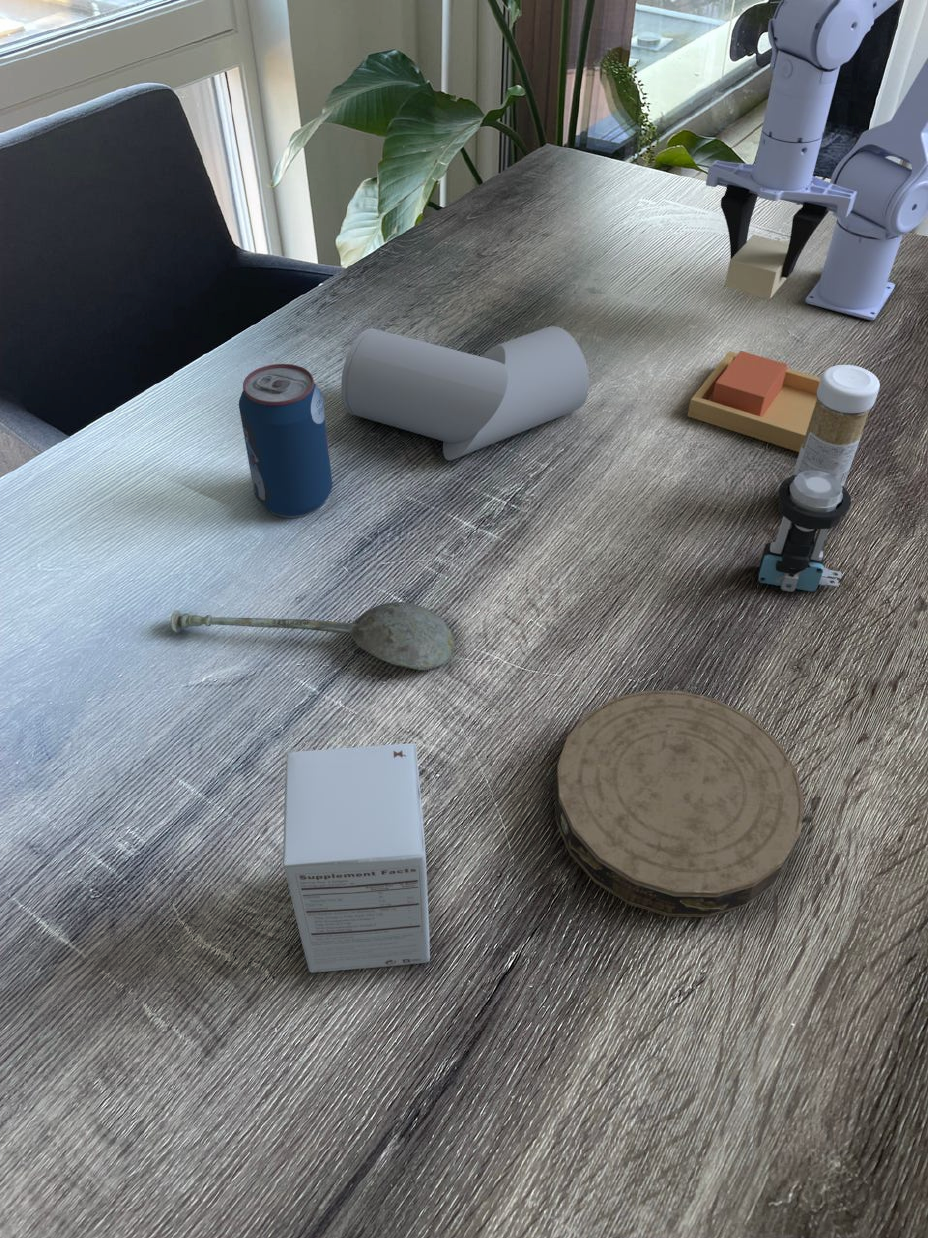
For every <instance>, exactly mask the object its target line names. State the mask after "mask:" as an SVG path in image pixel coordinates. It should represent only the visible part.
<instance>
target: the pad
mask: <svg viewBox="0 0 928 1238" xmlns="http://www.w3.org/2000/svg"><path fill="white" fill-rule="evenodd" d="M788 247H789V243H788V242H784V241H780V240H776V239H772V238H769V237H765V236H760V235H756V234H752V235H751V237H750V238H749V239H747V242H746V243H745V245H744V246H743V247H742V248H741V249H740V250H739V251H738V252H737V253H736V254H735V255H734V257H733V258H732V259H731V260H729V262H728V263H729V264H728V268H727V273H726V278H725V283H724V288H727V289H731V290H734V291H738V292H742V293H745V294H750V295H753V296H756V297H759V298H764V299H767V300H771V299H772V297H773V296H774V295H775V294H776V293H777V291H778V290H779V289H780V287H781V286H782V285H783V284H784V282H785V281H786V280H787V279H788V278H784V277H781V275H782V269H783V264H784V261H785V258H786V254H787V251H788Z"/></svg>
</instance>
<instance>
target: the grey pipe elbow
mask: <svg viewBox="0 0 928 1238" xmlns="http://www.w3.org/2000/svg"><path fill="white" fill-rule="evenodd" d="M340 387H341V389H340V391H341V399H342V404H343V406H344V409H345V410H346V411H347V413H349V414H350V415H353V416H357V417H359V418H362V419H365V420H366V419H367V420H369V421H373V422H377V423H380V424H383V425H387V426H390V427H394V428H397V429H401V430H404V431H407V432H410V433H414V434H417V435H421V436H425V437H428V438H431V439H435V440H438V441H441V442H442V453H443V456H444V459H445V460H447V461H453V460H456V459H458V458H461V457H463V456H466V455H469V454H471V453H473V452H476V451H479V450H481V449H483V448H486V447H488V446H491V445H494V444H496V443H499V442H500V441H503V440H506V439H508V438H511V437H513V436H516V435H518V434H521V433H523V432H526V431H529V430H530V429H533V428H536V427H538V426H541V425H543V424H546V423H547V422H550V421H554V420H555V419H559V418H560V417H563V416H565V415H568V414H570V413H573V412H575V411H577V410H579V409H581V408H582V407H583V406H584V404H585V402H586V400H587V398H588V395H589V389H590V376H589V369H588V365H587V362H586V359H585V356H584V354H583V352H582V349H581V348H580V346H579V344H578V343H577V341H576V339H574V336H572V335H571V333H569V332H568V331H567V330H565V329H564V328H562V327H559V326H556V325H551V326H546V327H544V328H541V329H537V330H535V331H532V332H529V333H527V334H523V335H521V336H519V337H515V338H513V339H510V340H507V341H504V342H501V343H499V344H496V345H494V346H492V347H490V348H489V349H488V350H487V351H486V352H484V354H483V355H482V356H479V355H476V354H472V353H468V352H464V351H462V350H461V351H460V350H457V349H452V348H449V347H445V346H441V345H437V344H435V343H430V342H426V341H422V340H419V339H415V338H410V337H407V336H403V335H399V334H395V333H392V332H388V331H384V330H380V329H378V328H377V329H376V328H372V327H371V328H369V327H368V328H366V329H365V330H363V331H361V333H359V335H357V337H356V338H355V340H354V341H353V342H352V344H351V346H350V348H349V350H348V352H347V355H346V357H345V361H344V364H343V369H342V374H341V385H340Z"/></svg>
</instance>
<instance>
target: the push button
mask: <svg viewBox="0 0 928 1238" xmlns="http://www.w3.org/2000/svg"><path fill="white" fill-rule="evenodd" d="M778 499H779V502H778V505H777V507H778V510H779V513H780V514H781V516H783V517H782V519H781V522H780V526H779V529H778V532H777V536H776V538H775V541H773V542H766V543H765V544H764V548H763V551H762V554H761V558H760V562H759V569H758V582H759V583H761V584H767V585H773V586H779V587H780V589H781V590H782V591H785V592H790V593H792V592H795V590H800V591H801V590H802V591H806V592H816V591H817V589H818V586H824V587H825V586H831V587H835V588H837V587H839V582H840V581H839V579H843V577H842V575H843V573H842V571H839V570H833V569H829V568H828V567H824V557H825V556H824V552H823V547H824V544H825V540H826V539H827V536H828V533H829V530H830V529H832V528H834V527H837V526H838V525H839V524H840V521H841V519H842V517H844V516H845V515H846V514H847V513H848V512H849V509H850V508H851V504H852V498H851V495H850V493H849V491H848V490H847V489H846V488H845V486H842V484H841V483H840V481H839V480H838V479H837V478H835V477H834V476H832V475H831V474H828V473H825V472H821V471H811V470H808V471H805V472H801V473H799V474H797V475H794V474H792V475H791V476H789V477H787V478H785V479H783V481H782V482H781V484H780V485H779V488H778ZM790 526H791V527H790ZM835 574H836V575H835ZM831 582H833V583H831Z"/></svg>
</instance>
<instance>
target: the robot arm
mask: <svg viewBox="0 0 928 1238" xmlns="http://www.w3.org/2000/svg"><path fill="white" fill-rule="evenodd" d="M898 1H899V0H780V2H779V3H778V5H777V7H776V9H775V12H774V14H773V17H772V18H770V19H769V20H768V24H767V36H768V37H767V38H768V43H769V45H770V47H771V58H770V64H769V67H770V68H771V69H770V70H771V72H772V77H771V84H770V87H769V88H770V89H769V93H768V98H767V103H766V107H765V113H764V118H763V121H762V122H763V123H762V127H761V131H760V135H759V136H760V137H759V141H758V146H757V151H756V155H755V159H754V160H755V161H754V164H753V163H741V162H740V163H739V162H729V161H723V160H718V159H715V160H714V161H713V162H712V163H711V164H709V166H708V169H707V174H706V175H707V176H706V181H705V186H707V187H711V188H716V187H718V186H719V187H724V188H726V189H725V191H724V195H722V197H721V199H720V208H721V211H722V213H723V216H724V219H725V221H726V226H727V231H728V237H729V251H730V260H731V259H732V258H733V257H734V255H735V254H736V253H737V252H738V251H739V250H740V249H741V248H742V247H743V246H744V245H745V243H746V242H747V241H748V236H749V231H750V225H751V221H752V217H753V214H754V211H755V210H754V209H755V207H756V203H757V200H758V198H760V199H763V200H768V201H771V202H778V201H779V200H780V201H783V202H788V203H792V204H797V205H801V207H800V208H799V209H797V211H796V212H795V214H794V215H793V217H792V220H791V231H790V237H789V247H788V251H787V254H786V258H785V261H784V264H783V269H782V275H781V277H784V278H787V279H788V278H789V277H790V275H791V274H792V273H793V272H794V271H795V267H796V264H797V262H798V260H799V257H800V256H801V254H802V252H803V250H804V249H805V246H806V245H807V243H808V242H809V240H810V238H811V237H812V236H813V234H814V232H815V231H816V229H817V228H818V227H819V225H820V224H821V223H822V221H823V220H824V219H825V217H826V216H827V215H828V214H829V212H832V216H833V217H835V218H836V221H835V225H834V228H833V232H832V236H831V240H830V243H829V247H828V249H827V253H826V258H825V261H824V265H823V268H822V271H821V275H820V279H818V281H817V283H816V284H815V286H814V287H813V288H812V289H811V291H810V292H809V294H807V296H806V297H805V303H806V304H808V305H811V306H816V307H819V308H823V309H826V310H830V311H834V312H837V313H841V314H845V315H849V316H853V317H856V318H860V319H864V320H868V321H874V320H875V319H876V318H877V317H878V315H879V313H880V311H881V310H882V308H883V307H884V305H885V304H886V302H887V300H888V299H889V297H890V296H891V294H892V293H893V291H894V290H895V287H896V284H895V283H894V282H890V281H889V278H890V276H891V272H892V269H893V266H894V263H895V260H896V257H897V255H898V252H899V248H900V245H901V241H902V238H903V236H904V235H906V234H909V233H910V232H911V231H912V230H914V229H915V228H916V227H918V226H919V225H920V224H921V223H922V222H923V220H924V219H925V218H926V216H927V215H928V57H927V58H926V60H925V62H924V63H923V65H922V66H921V68H920V70H919V72H918V73H917V75H916V77H915V78H914V81H912V83H911V85H910V87H909V88H908V90H907V92H906V94H905V96H904V97H903V99H902V101H901V103H900V104H899V106H898V108H897V109H896V111H895V113H894V115H893V116H892V117H891V119H890V120H889V121H886V122H884V123H882V124H879V125H876V126H874V127H872V128H870V129H867V130H864V131H863V132H862V133H861V134H860V136H859V138H858V140H857V142H856V143H855V145H854V146H853V148H852V149H851V150H850V151H848V153H847V154H846V155H845V156H844V157H842V159H840V161H839V163H838V164H837V165H836V166H835V169H834V170H833V172H832V174H831V177H830V181H827V180H824V179H822V178H819V177H817V176H814V172H815V168H816V164H817V160H818V156H819V153H820V148H821V144H822V140H823V137H824V132H825V128H826V124H827V120H828V116H829V114H830V113H829V112H830V108H831V105H832V100H833V97H834V92H835V88H836V85H837V80H838V78H839V72H840V69H841V66H842V65H843V64H846V63H848V62H849V61H850V60H851V59H852V58H853V56H854V55H855V54H856V52H857V50H858V49H859V47H860V46H861V44H862V42H863V39H864V38H865V36H866V34H867V33H868V32H870V31H871V27H872V26H873V25H874V23H875V20H877V19H878V17H880V16H881V15H882V14H884V13H885V12H886V11H887V10H889V8H891V7H892V6H893V5H895V3H896V2H898ZM888 157H893V158H896V159H899V160H901V161H903V162H905V163H908V164H910V166H911V168H909V167H907V166H905V165H902V164H900V163H899V162H896V161H894V160H892V159H889V158H888ZM730 260H729V261H730Z"/></svg>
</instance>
